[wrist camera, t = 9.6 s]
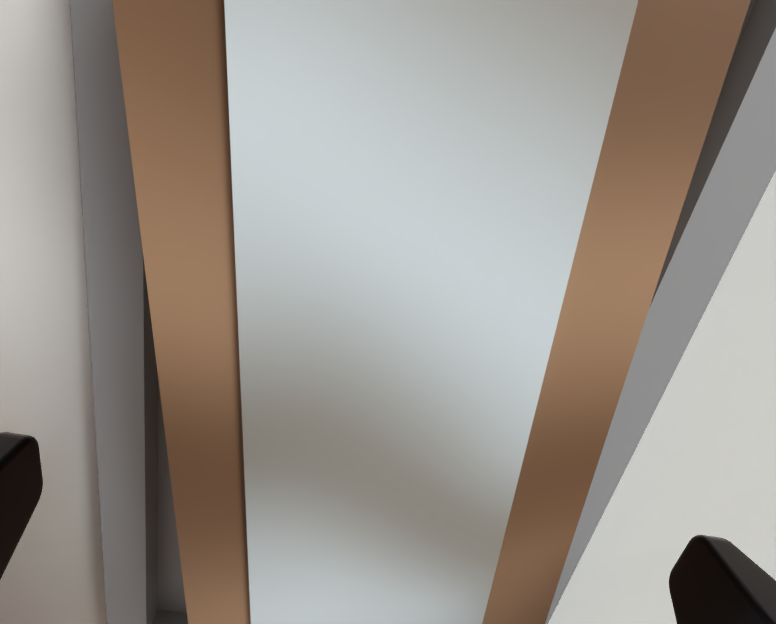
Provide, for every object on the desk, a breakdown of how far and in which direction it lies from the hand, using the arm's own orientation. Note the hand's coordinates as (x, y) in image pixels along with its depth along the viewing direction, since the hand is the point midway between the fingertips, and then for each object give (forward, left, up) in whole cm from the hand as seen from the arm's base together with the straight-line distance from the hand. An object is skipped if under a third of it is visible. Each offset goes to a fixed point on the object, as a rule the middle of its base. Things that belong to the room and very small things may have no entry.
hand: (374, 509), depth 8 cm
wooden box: (0, 0, -4) cm, 5 cm away
